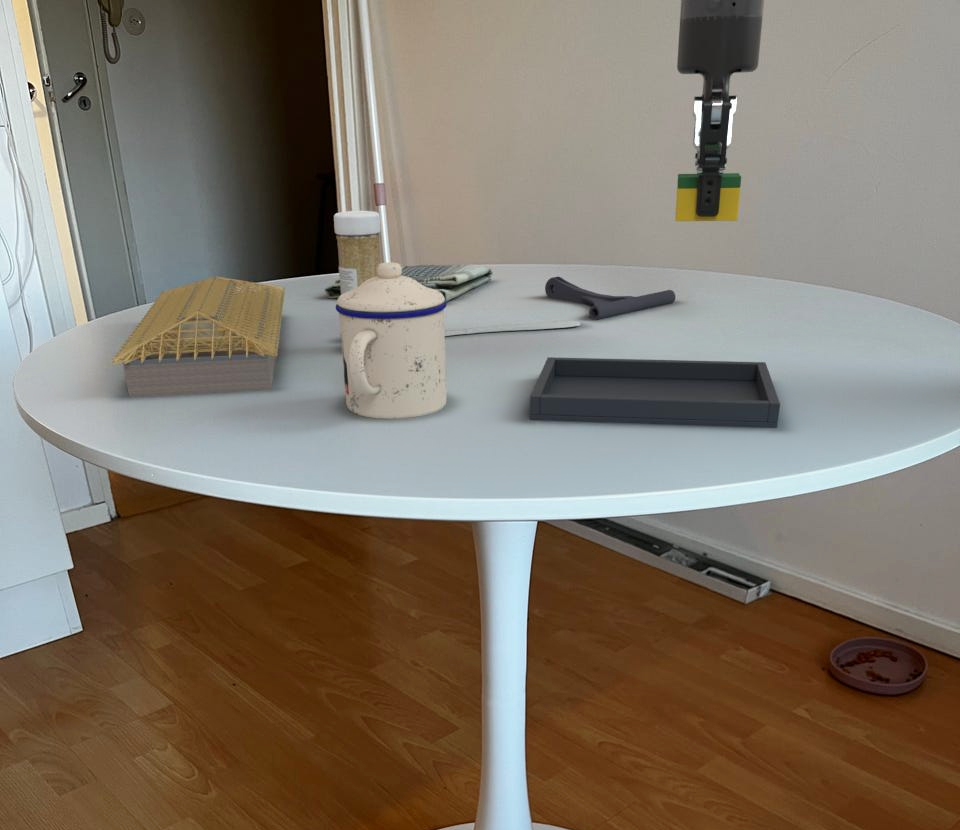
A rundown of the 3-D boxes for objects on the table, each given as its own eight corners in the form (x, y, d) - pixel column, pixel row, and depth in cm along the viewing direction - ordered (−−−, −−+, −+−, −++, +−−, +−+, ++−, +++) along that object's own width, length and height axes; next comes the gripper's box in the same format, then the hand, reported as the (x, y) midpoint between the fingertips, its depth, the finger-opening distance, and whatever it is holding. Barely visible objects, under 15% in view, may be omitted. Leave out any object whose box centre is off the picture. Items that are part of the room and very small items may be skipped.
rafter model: (281, 392, 91) (273, 323, 88) (117, 402, 89) (104, 331, 86) (288, 317, 121) (282, 264, 119) (166, 323, 120) (157, 269, 117)
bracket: (585, 290, 135) (585, 268, 133) (675, 304, 125) (676, 280, 124) (509, 306, 126) (508, 283, 125) (599, 322, 117) (600, 297, 115)
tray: (762, 385, 91) (765, 362, 90) (776, 430, 79) (780, 403, 78) (547, 379, 94) (547, 357, 93) (529, 421, 82) (530, 396, 81)
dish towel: (378, 277, 147) (376, 254, 145) (495, 282, 142) (494, 258, 140) (321, 300, 131) (319, 274, 130) (450, 306, 126) (450, 279, 125)
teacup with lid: (371, 389, 92) (362, 253, 86) (464, 397, 89) (461, 257, 83) (308, 426, 82) (293, 276, 76) (410, 436, 79) (402, 281, 74)
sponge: (734, 215, 103) (738, 173, 101) (737, 220, 99) (741, 176, 97) (675, 216, 104) (678, 173, 102) (675, 221, 100) (678, 177, 98)
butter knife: (584, 324, 112) (576, 317, 115) (342, 343, 107) (339, 335, 110) (584, 329, 112) (576, 323, 115) (343, 348, 108) (340, 340, 110)
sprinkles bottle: (391, 353, 104) (383, 213, 98) (348, 356, 103) (337, 215, 97) (383, 343, 108) (374, 208, 102) (341, 347, 107) (330, 210, 101)
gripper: (769, 7, 86) (749, 221, 95) (757, 17, 99) (740, 206, 107) (680, 11, 88) (668, 222, 96) (679, 20, 100) (668, 206, 108)
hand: (706, 212), depth 101 cm, fingers closed on sponge, 4 cm apart
